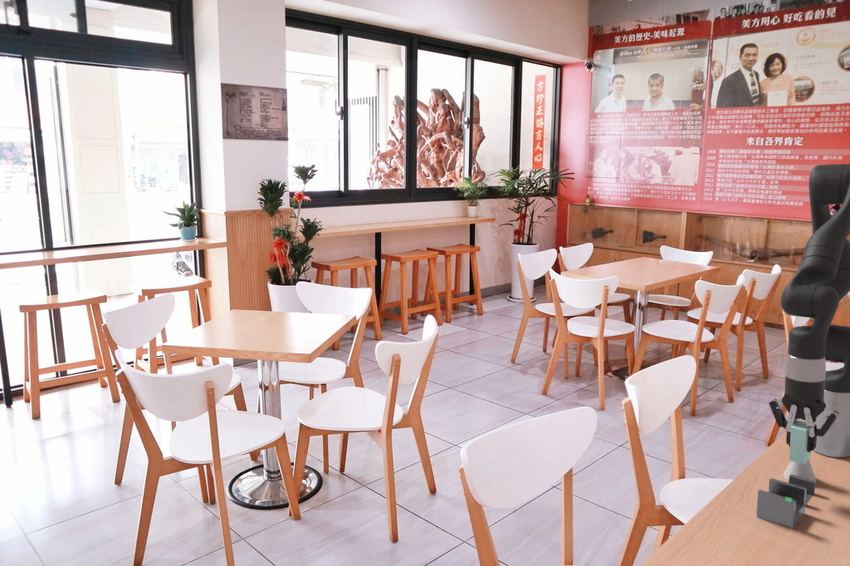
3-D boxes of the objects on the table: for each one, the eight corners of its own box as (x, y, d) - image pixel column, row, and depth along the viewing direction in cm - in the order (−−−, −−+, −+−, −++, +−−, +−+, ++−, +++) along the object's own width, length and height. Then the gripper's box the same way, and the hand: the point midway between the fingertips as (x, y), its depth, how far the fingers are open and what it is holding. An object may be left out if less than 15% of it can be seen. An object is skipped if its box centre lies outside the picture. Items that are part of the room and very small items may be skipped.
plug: (795, 452, 149) (796, 419, 147) (810, 456, 146) (812, 423, 145) (789, 460, 146) (790, 427, 144) (804, 464, 143) (806, 430, 142)
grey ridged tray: (790, 488, 152) (791, 473, 152) (814, 495, 149) (815, 480, 148) (778, 501, 147) (779, 486, 146) (803, 509, 143) (804, 493, 142)
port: (769, 505, 145) (771, 475, 144) (804, 516, 140) (806, 485, 139) (755, 520, 140) (757, 489, 138) (792, 532, 135) (794, 500, 133)
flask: (822, 489, 151) (825, 449, 149) (787, 487, 153) (790, 447, 151) (810, 475, 158) (813, 436, 156) (778, 473, 159) (780, 434, 158)
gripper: (847, 376, 140) (841, 451, 143) (776, 364, 150) (772, 434, 153) (837, 386, 135) (831, 464, 138) (764, 373, 145) (761, 445, 148)
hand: (800, 448), depth 146 cm, fingers closed on plug, 3 cm apart
